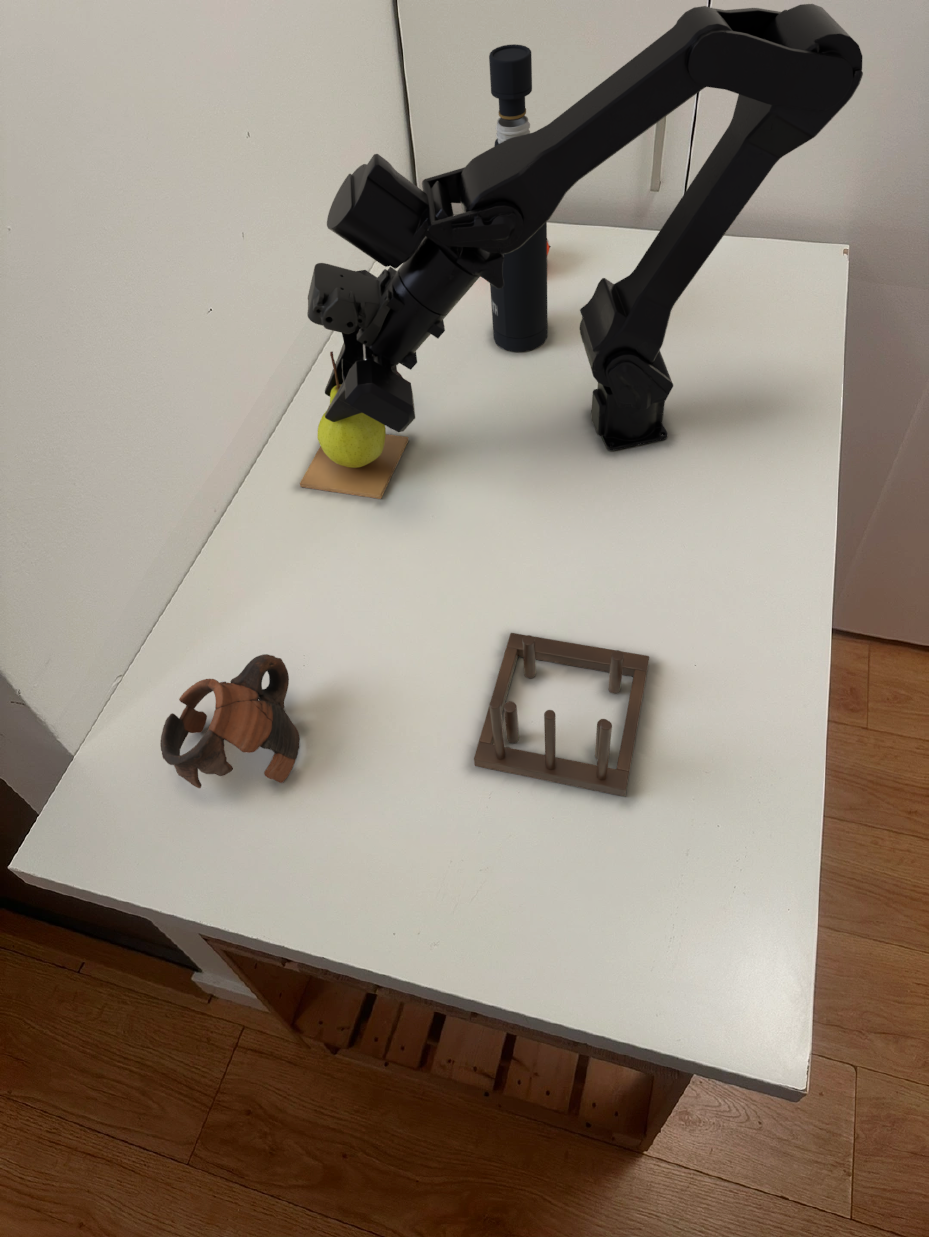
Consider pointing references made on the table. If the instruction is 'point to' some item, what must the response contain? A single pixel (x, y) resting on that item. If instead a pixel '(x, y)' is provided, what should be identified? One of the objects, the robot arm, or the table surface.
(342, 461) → the fruit
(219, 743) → the broken clay pot
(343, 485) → the mat
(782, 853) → the table surface
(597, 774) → the rack
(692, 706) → the table surface
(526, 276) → the black bottle
